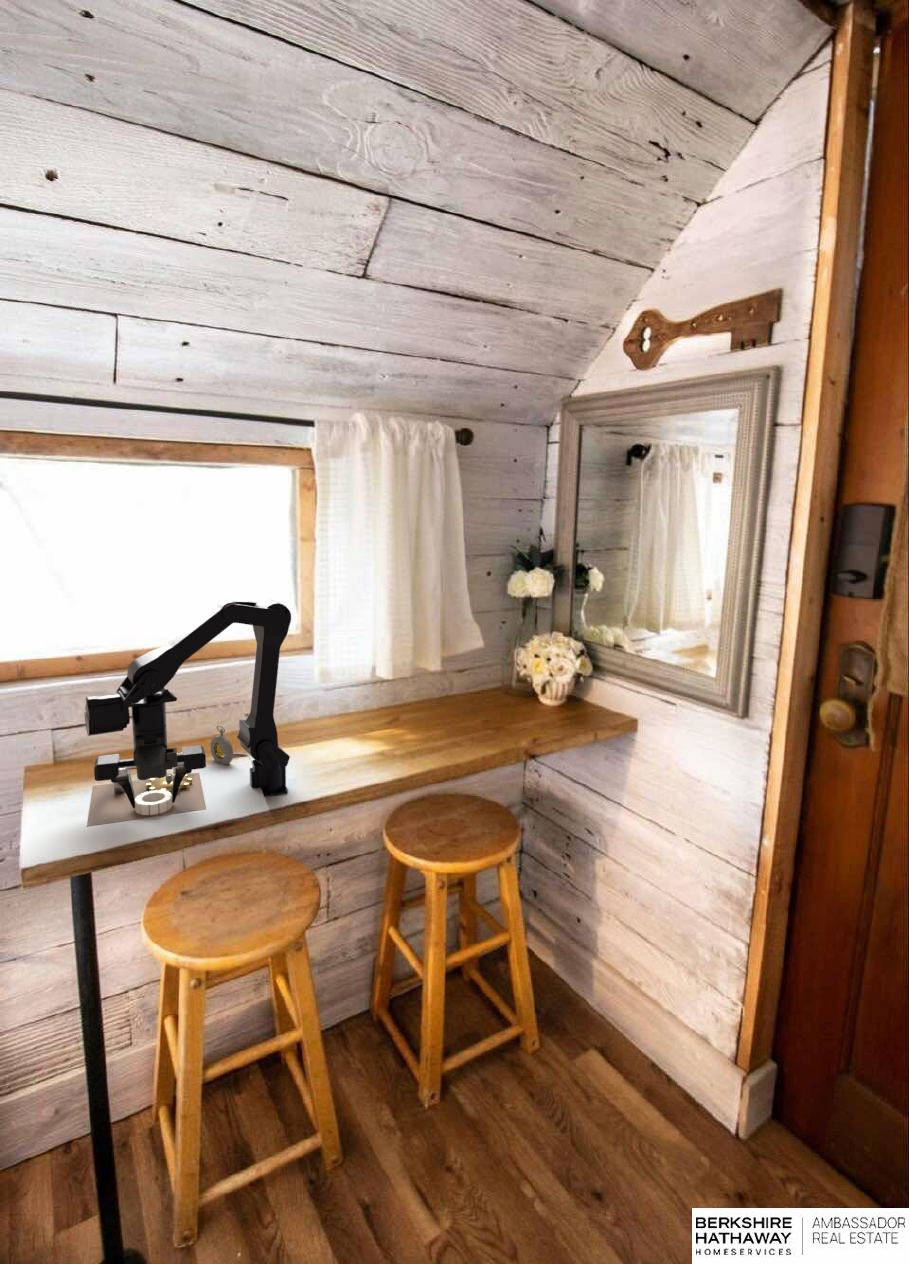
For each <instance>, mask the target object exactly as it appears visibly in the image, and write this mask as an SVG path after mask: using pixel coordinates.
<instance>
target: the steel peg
mask: <svg viewBox="0 0 909 1264" xmlns="http://www.w3.org/2000/svg"><path fill="white" fill-rule="evenodd" d="M114 793H115V794H117V795H119V794H124V793H125V791H124V789H123V788H122V787H121V785H120V784H118V783H114Z"/></svg>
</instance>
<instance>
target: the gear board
mask: <svg viewBox="0 0 909 1264" xmlns="http://www.w3.org/2000/svg"><path fill="white" fill-rule="evenodd" d="M187 775H188V778H192V784H190V788H188V789H182V790H180V793H177V796H176V799H175V802H174V803H172V807H171V808H170V809H169V810H167V811H166V812H163V813H158V814H155V815H150V814H149V815H141V814H138V813H137V812H136V811H135V808H133V807H132V805H131V803H130V801H129V799H128V797H127V795H126V793H124V794H119V795H117V794H115V793H114V783H112V782H111V783H104V784H97V785H92V789H91V790H92V791H91V797H90V803H89V808H88V809H89V810H88V815H87V822H86V827H93V826H102V825H107V824H114V823H120V822H121V823H122V822H127V821H136V820H140V819H141V820H142V819H149V818H155V817H162V816H170V815H175V814H181V813H190V812H196V811H201V810H202V811H203V810H207V807H206V799H205V796H204V795H205V794H204V792H203V791H204V790H203V785H202V781H201V780H202V779H201V776H200V775H201V774H200V772H194V773H192V772H191V773H189V774H187ZM146 783H149V779H146V780H139V779H136V780H132V784H133V789H134V795H135V797H137V796H138V795H139V794H140V795H141V794H142V793H144V792H147V791H148V792H149V790H146Z"/></svg>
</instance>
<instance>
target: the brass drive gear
mask: <svg viewBox="0 0 909 1264" xmlns="http://www.w3.org/2000/svg"><path fill="white" fill-rule="evenodd" d="M172 781H173V773H172V774H171V773H167V774H166V776H165V777H163V778H150V779H149V783H146V790H149V791H153V790H157V791H158V790H166V791H169V792H171V793H172ZM190 784H192V778H188V775H187V774H186V775H185V776H184V778H183V780H182V782H181V784H180V787H179V790H178V793H180V790H182V789H188V788H190Z"/></svg>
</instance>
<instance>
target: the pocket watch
mask: <svg viewBox="0 0 909 1264" xmlns="http://www.w3.org/2000/svg"><path fill="white" fill-rule="evenodd" d="M219 728H220V729H219ZM216 729H217V730H218V732H219V733H220V734H219V735H216V736H214V737H213V738H211V741H210V745H209V746H210V753H211V756H212V758H213V759H214V761H215V762H216V763H220V764H223V765H228V764H230V763H231V762H232V761H233V759H239V758H245V757H248V759H249V760H251V756H249V754H245V753H234V749H233V748H234V747H233V746H232V744H231V742H230V740H229V739H228V738H227V737H226V736H224V733H225V732H226V728H224V727H223V726H221V725H217V726H216Z"/></svg>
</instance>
